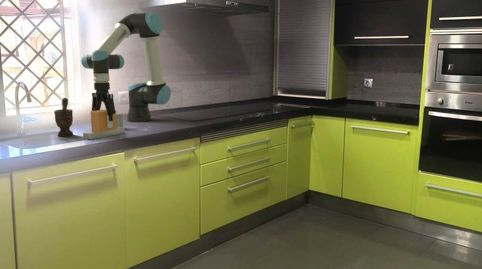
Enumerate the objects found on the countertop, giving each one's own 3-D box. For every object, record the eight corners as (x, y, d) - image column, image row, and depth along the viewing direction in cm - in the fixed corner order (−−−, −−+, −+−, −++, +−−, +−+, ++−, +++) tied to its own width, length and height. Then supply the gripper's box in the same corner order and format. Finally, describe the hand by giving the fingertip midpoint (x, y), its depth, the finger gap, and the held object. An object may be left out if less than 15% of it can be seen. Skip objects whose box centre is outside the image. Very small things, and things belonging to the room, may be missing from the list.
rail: (118, 132, 236) (118, 126, 235) (125, 133, 233) (124, 127, 232) (83, 138, 218) (83, 132, 217) (90, 139, 215) (89, 133, 215)
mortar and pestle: (81, 135, 225) (78, 97, 222) (65, 138, 219) (62, 98, 215) (68, 133, 232) (65, 95, 229) (53, 135, 226) (49, 97, 222)
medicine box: (123, 128, 248) (122, 112, 247) (121, 129, 244) (120, 113, 242) (109, 128, 248) (108, 112, 246) (107, 129, 244) (106, 114, 242)
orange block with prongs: (109, 133, 232) (108, 109, 229) (117, 134, 228) (115, 109, 226) (92, 136, 223) (90, 111, 220) (99, 138, 219) (98, 112, 217)
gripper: (82, 81, 223) (85, 125, 227) (109, 83, 212) (112, 129, 216) (94, 80, 229) (97, 123, 233) (121, 82, 218) (124, 127, 222)
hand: (104, 126), depth 225 cm, fingers open, 8 cm apart
